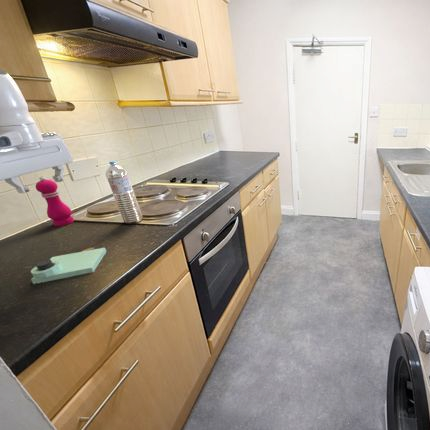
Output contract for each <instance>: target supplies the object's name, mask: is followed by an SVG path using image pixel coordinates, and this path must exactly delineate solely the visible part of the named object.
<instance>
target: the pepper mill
mask: <svg viewBox="0 0 430 430" xmlns="http://www.w3.org/2000/svg"><path fill="white" fill-rule="evenodd" d="M35 189H36V192H39V193H40V195H41V197H42V198H43V199H44V200H45V201H46V205H47V208H46V215H47V217H48V219H50V220H52V225H54V226H55V227H63V226H67V225H70V224H72V223H74V221H75V219H74V216H72V213H73V210H72V209H71V208H70V207H69V206H68V205H67V204H65V203H64V201H62V200H61V197H60V196H59V195H60V192H59V190H58V184H57V182H55V181H54V180H52V179H47V177H45V176H43V175H42V176H40V177H39V181H37V182H36V184H35Z"/></svg>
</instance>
